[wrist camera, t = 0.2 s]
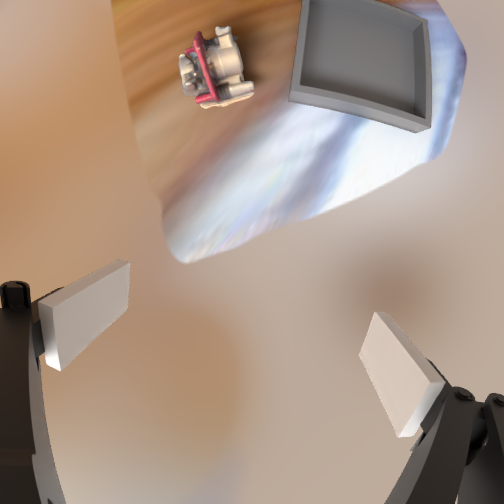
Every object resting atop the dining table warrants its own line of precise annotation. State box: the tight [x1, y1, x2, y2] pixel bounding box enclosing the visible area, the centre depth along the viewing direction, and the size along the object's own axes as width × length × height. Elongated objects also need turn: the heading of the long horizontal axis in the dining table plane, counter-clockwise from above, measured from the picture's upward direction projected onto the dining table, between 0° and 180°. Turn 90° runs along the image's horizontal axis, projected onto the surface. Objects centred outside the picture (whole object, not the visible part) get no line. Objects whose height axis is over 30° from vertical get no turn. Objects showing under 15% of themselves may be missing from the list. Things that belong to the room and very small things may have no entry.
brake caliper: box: [179, 26, 255, 109], centre depth 33 cm, size 11×11×12 cm
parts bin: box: [288, 0, 432, 133], centre depth 33 cm, size 20×20×5 cm
